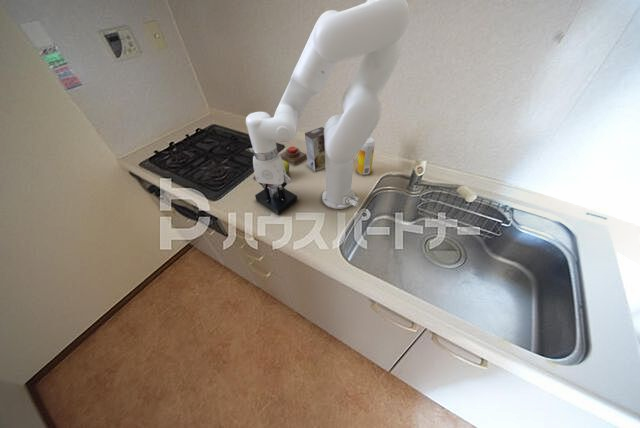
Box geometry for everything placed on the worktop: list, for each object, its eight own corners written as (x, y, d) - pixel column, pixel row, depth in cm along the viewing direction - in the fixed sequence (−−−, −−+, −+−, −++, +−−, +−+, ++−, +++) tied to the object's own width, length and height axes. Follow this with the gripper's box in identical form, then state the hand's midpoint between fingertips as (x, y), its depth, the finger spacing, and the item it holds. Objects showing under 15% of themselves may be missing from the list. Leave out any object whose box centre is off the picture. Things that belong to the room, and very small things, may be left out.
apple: (270, 172, 107) (267, 156, 101) (290, 170, 107) (288, 155, 102) (269, 182, 101) (265, 167, 96) (290, 180, 102) (288, 165, 96)
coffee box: (323, 159, 113) (322, 126, 102) (331, 165, 109) (331, 131, 98) (307, 165, 110) (304, 132, 98) (315, 172, 106) (312, 138, 94)
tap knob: (282, 192, 92) (280, 181, 88) (279, 199, 89) (277, 188, 85) (272, 191, 93) (269, 180, 89) (268, 198, 90) (265, 187, 86)
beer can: (367, 166, 107) (370, 135, 96) (373, 173, 103) (377, 142, 92) (354, 169, 106) (357, 138, 95) (360, 177, 102) (363, 145, 91)
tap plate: (297, 201, 92) (296, 195, 90) (278, 215, 87) (277, 209, 85) (275, 188, 99) (274, 182, 96) (256, 201, 93) (254, 194, 91)
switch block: (306, 158, 114) (305, 150, 111) (294, 165, 110) (293, 158, 107) (292, 151, 119) (291, 144, 116) (280, 158, 115) (279, 151, 112)
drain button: (297, 151, 112) (297, 148, 111) (292, 154, 110) (292, 151, 109) (292, 149, 114) (292, 145, 113) (287, 152, 112) (286, 148, 111)
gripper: (237, 156, 77) (251, 199, 89) (287, 160, 74) (294, 203, 87) (246, 145, 82) (258, 187, 95) (293, 148, 79) (299, 190, 92)
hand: (275, 194), depth 90 cm, fingers closed on tap knob, 4 cm apart
